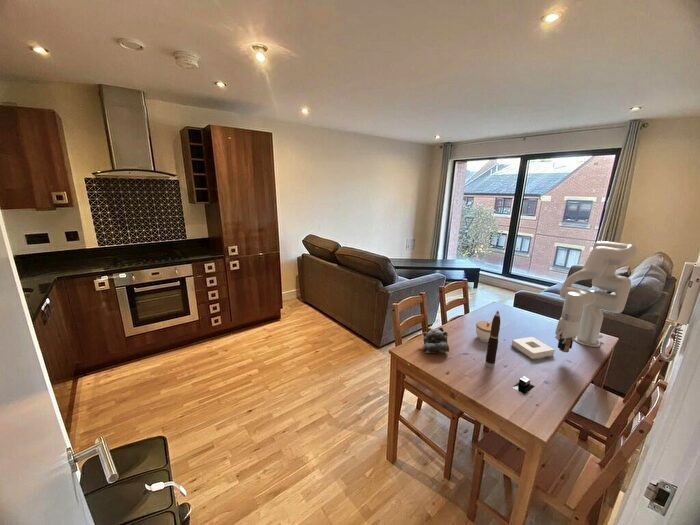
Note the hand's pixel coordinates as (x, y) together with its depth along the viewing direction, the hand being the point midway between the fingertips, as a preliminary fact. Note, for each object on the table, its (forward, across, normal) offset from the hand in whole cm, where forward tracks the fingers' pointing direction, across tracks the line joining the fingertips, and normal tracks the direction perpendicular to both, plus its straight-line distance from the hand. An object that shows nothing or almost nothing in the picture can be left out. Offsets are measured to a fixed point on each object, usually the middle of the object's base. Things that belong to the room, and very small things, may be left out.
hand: (564, 347), depth 147 cm
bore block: (+8, +7, -12) cm, 16 cm away
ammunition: (+6, +39, -6) cm, 40 cm away
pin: (+1, 0, 0) cm, 1 cm away
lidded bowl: (+8, +23, -28) cm, 38 cm away
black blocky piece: (+7, +36, +11) cm, 38 cm away
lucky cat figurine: (+6, +60, -26) cm, 66 cm away
